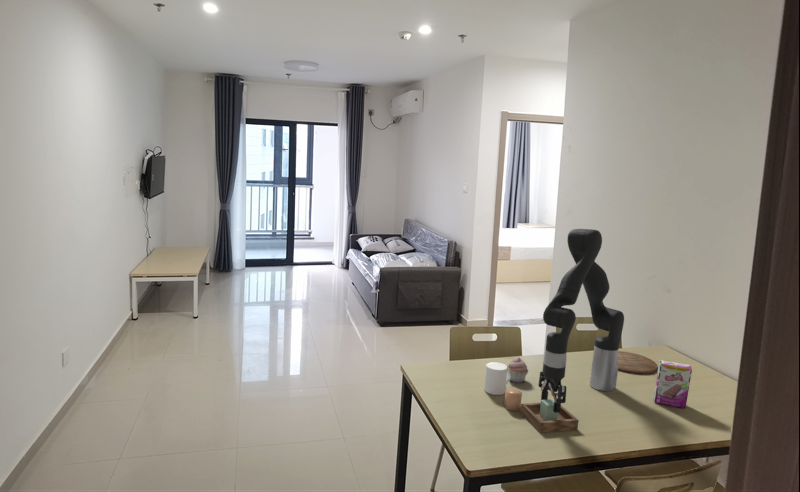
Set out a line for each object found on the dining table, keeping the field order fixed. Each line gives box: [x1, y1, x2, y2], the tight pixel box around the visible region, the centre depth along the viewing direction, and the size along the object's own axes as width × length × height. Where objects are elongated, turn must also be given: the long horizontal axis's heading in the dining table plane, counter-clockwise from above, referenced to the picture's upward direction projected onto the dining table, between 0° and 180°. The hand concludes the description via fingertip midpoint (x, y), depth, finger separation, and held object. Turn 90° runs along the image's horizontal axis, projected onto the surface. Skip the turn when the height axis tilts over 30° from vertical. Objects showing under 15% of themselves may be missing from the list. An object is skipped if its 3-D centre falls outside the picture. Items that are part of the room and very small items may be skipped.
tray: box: [519, 402, 580, 434], centre depth 192 cm, size 14×14×4 cm
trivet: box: [616, 350, 658, 375], centre depth 254 cm, size 25×25×2 cm
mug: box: [483, 361, 511, 396], centre depth 216 cm, size 8×10×12 cm
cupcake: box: [506, 356, 529, 384], centre depth 227 cm, size 9×9×10 cm
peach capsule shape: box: [503, 387, 523, 412], centre depth 202 cm, size 6×6×6 cm
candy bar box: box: [653, 359, 693, 409], centre depth 211 cm, size 11×5×16 cm, turn 71°
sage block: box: [539, 398, 558, 421], centre depth 192 cm, size 4×4×6 cm
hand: (550, 406), depth 192 cm, fingers open, 8 cm apart
